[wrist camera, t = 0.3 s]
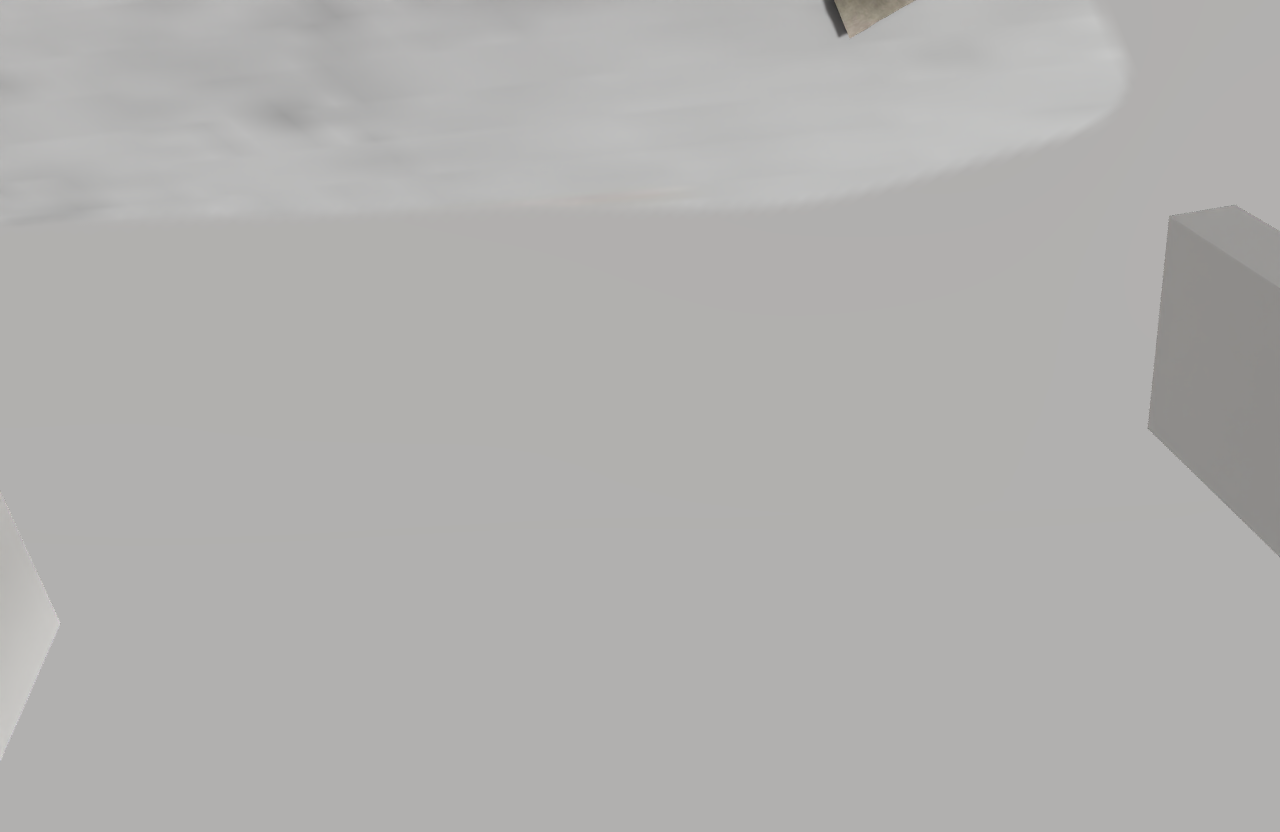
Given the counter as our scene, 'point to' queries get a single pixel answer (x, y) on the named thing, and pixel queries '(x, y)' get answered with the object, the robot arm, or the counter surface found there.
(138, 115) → the counter surface
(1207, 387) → the robot arm
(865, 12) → the condiment
